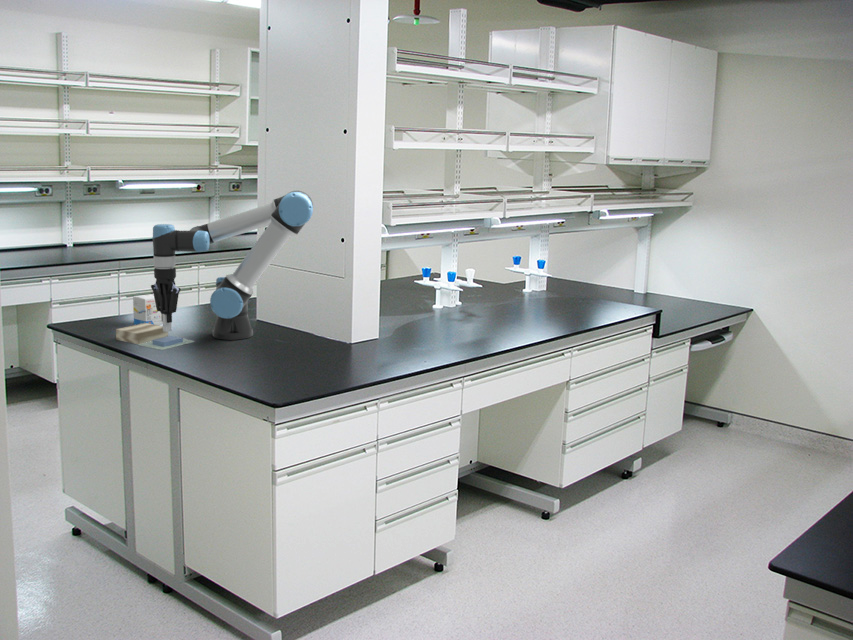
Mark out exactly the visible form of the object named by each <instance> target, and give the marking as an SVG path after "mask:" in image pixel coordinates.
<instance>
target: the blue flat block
mask: <svg viewBox="0 0 853 640" xmlns="http://www.w3.org/2000/svg"><path fill="white" fill-rule="evenodd" d="M183 339H184V337H180V336H175V335H168V337H163V338H159V339H155V340H152V342H153V345H158V346H163V347H165V346H169V345H173V344H177V343H182V342H183Z"/></svg>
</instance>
